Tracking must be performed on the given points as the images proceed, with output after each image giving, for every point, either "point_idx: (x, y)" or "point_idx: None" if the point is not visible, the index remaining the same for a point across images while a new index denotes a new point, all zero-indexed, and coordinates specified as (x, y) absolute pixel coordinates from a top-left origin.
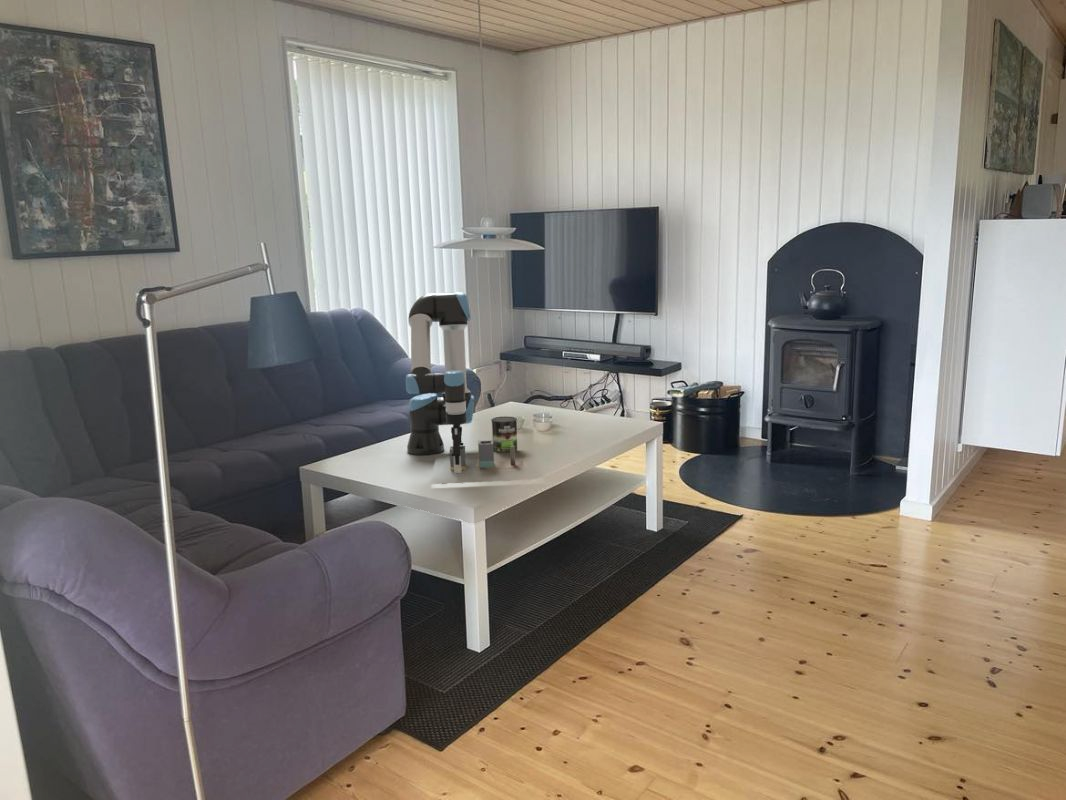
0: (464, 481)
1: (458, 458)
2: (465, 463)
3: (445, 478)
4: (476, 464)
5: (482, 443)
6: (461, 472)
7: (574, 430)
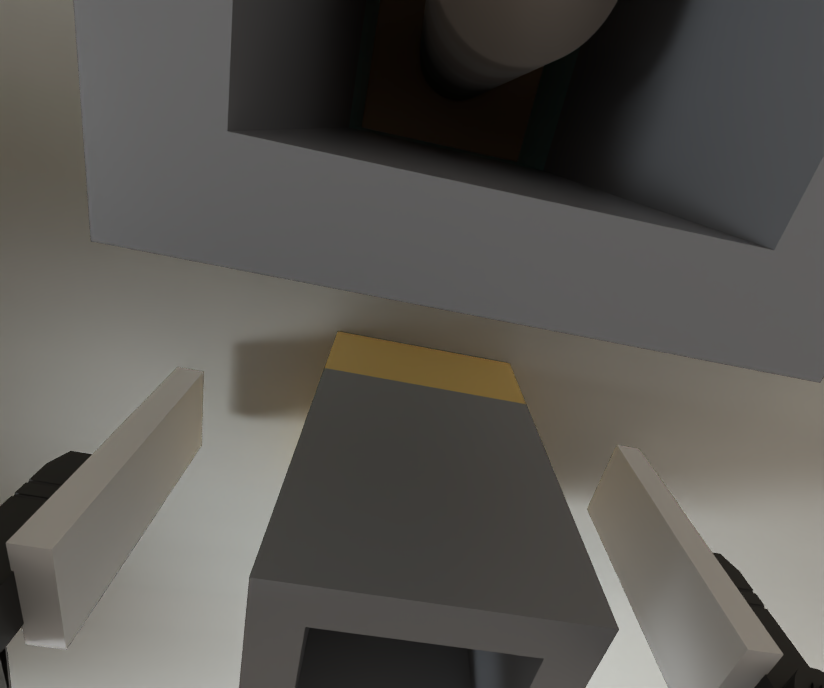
0: (808, 425)
1: (792, 652)
2: (505, 418)
3: (602, 550)
4: None
5: (277, 40)
6: (634, 448)
7: None
